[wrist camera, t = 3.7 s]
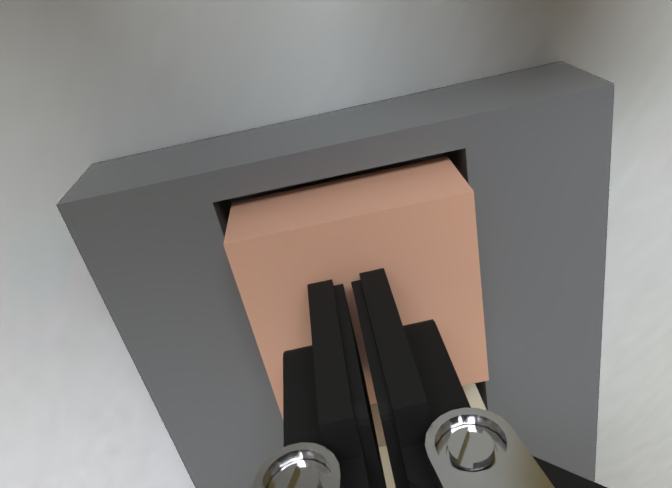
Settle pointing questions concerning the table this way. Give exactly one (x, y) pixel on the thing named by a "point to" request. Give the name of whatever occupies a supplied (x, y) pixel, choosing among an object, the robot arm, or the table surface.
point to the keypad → (347, 161)
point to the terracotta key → (363, 259)
